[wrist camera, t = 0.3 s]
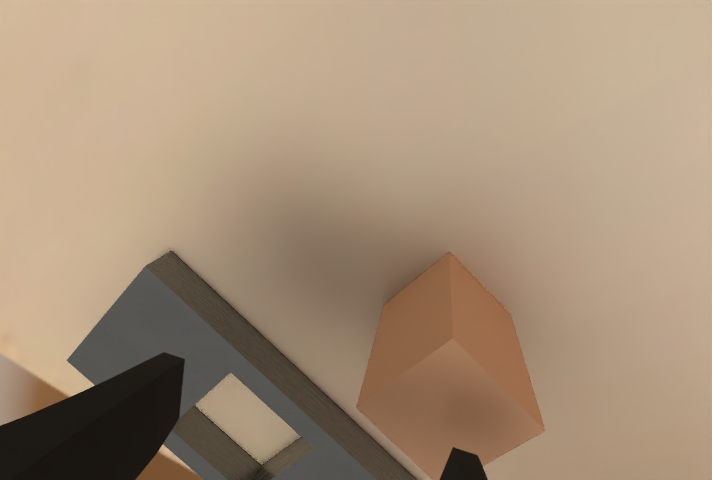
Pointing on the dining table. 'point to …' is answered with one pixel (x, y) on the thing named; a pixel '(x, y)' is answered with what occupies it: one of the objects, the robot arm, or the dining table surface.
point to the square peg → (448, 372)
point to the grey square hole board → (212, 364)
